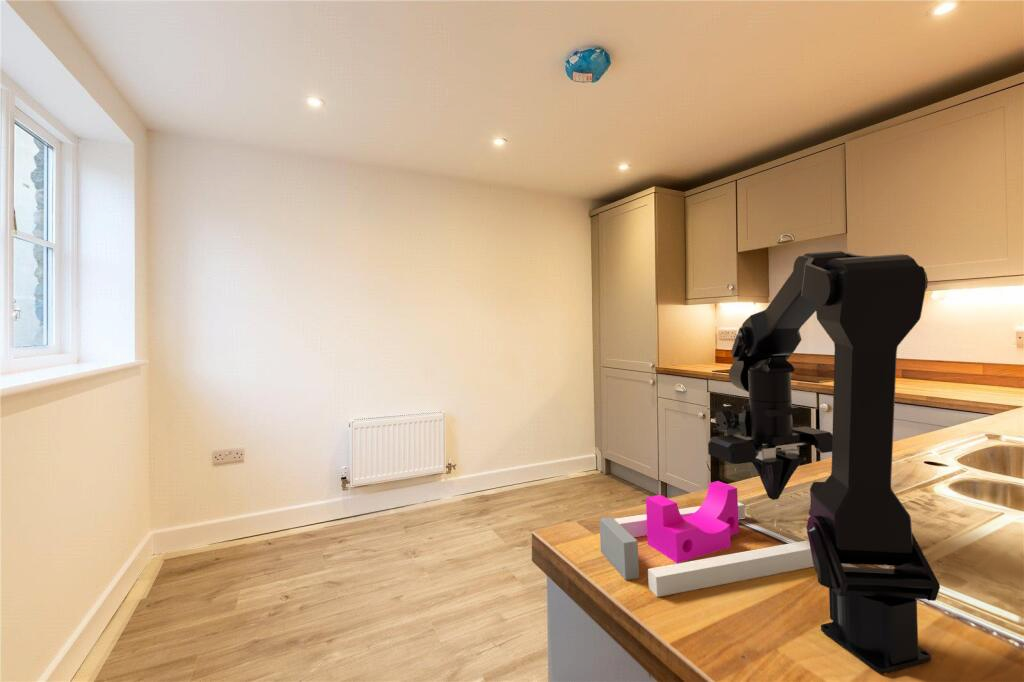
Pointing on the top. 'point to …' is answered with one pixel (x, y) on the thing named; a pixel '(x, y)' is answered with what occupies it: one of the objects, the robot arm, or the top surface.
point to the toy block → (693, 524)
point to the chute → (696, 573)
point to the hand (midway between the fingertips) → (773, 498)
